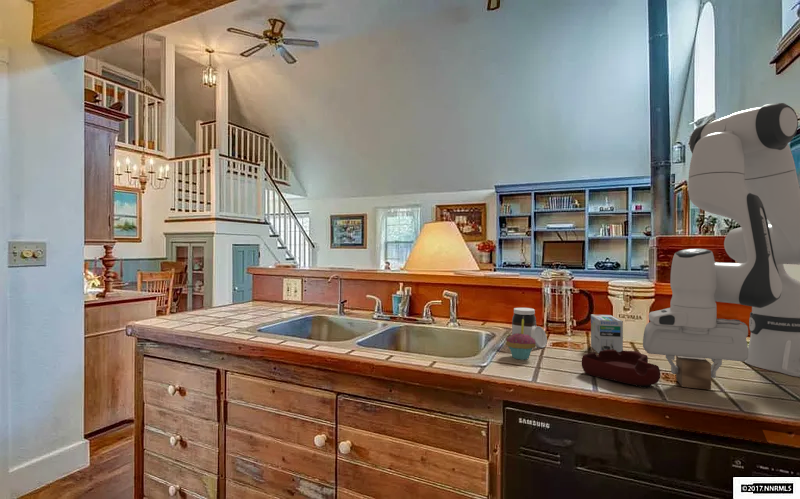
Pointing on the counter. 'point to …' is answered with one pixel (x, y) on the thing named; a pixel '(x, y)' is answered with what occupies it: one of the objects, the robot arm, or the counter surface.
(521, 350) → the cupcake
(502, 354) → the counter surface
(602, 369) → the ashtray
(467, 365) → the counter surface
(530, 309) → the spread jar
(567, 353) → the counter surface
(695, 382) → the grey-brown cube
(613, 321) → the light bulb box
